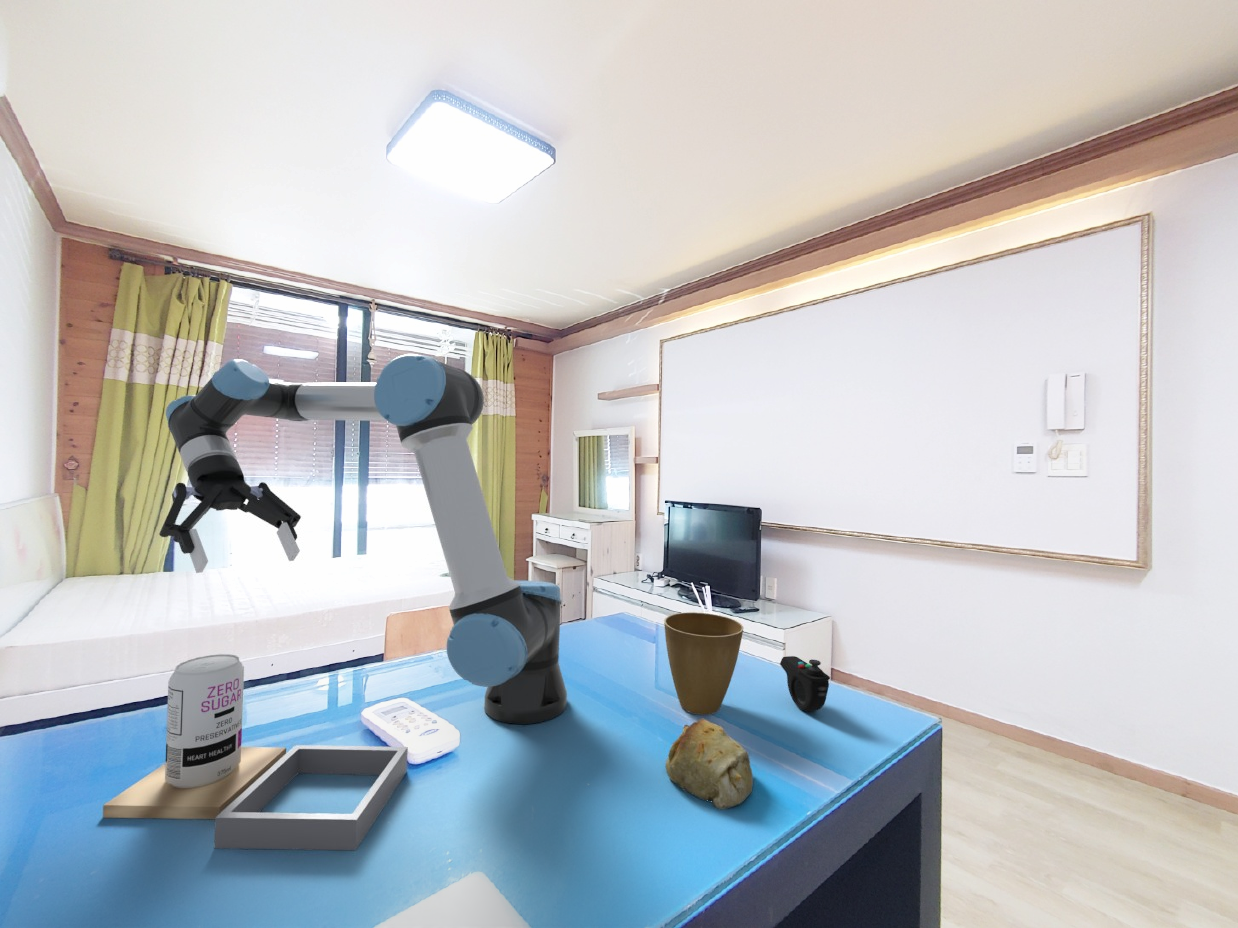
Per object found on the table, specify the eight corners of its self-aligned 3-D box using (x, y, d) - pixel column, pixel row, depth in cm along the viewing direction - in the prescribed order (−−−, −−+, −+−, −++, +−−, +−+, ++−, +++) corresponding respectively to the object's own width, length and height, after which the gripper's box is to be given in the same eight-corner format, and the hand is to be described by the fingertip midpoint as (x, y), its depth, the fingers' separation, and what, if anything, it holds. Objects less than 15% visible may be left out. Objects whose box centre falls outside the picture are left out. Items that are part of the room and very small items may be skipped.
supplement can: (192, 757, 77) (196, 652, 77) (253, 756, 78) (257, 652, 78) (148, 791, 69) (152, 674, 69) (216, 790, 69) (220, 674, 70)
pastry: (661, 753, 85) (662, 703, 85) (739, 755, 85) (741, 705, 85) (671, 810, 71) (673, 750, 71) (765, 812, 71) (767, 752, 71)
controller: (811, 722, 97) (813, 667, 97) (776, 693, 109) (777, 644, 109) (832, 720, 98) (834, 666, 98) (795, 692, 110) (796, 643, 110)
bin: (406, 771, 78) (407, 746, 78) (355, 849, 62) (356, 819, 62) (294, 769, 77) (295, 744, 77) (214, 848, 61) (215, 817, 61)
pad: (286, 757, 80) (286, 747, 80) (218, 818, 66) (219, 806, 66) (190, 755, 80) (190, 745, 80) (102, 817, 66) (103, 805, 66)
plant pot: (651, 715, 98) (653, 627, 98) (674, 685, 112) (676, 608, 112) (733, 732, 92) (736, 639, 92) (746, 699, 106) (749, 618, 106)
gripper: (278, 480, 108) (317, 564, 100) (114, 481, 87) (147, 588, 79) (293, 455, 105) (335, 539, 97) (128, 449, 84) (163, 556, 76)
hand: (251, 561), depth 88 cm, fingers open, 13 cm apart
